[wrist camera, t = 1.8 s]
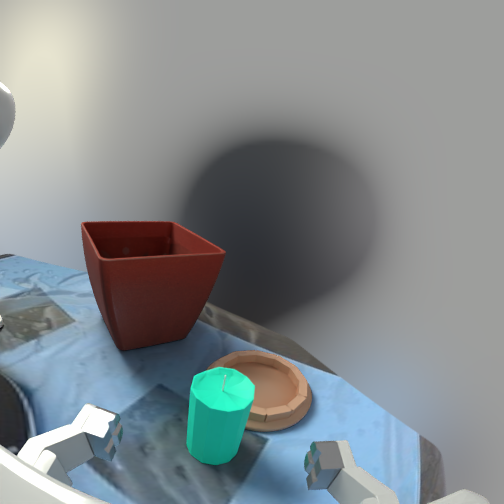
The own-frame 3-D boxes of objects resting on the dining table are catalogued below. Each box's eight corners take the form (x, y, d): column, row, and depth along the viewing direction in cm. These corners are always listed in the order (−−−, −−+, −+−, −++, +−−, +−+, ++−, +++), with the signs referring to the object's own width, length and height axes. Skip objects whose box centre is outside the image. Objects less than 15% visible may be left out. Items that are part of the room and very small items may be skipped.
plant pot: (166, 295, 60) (173, 219, 56) (214, 344, 47) (229, 251, 42) (82, 305, 48) (80, 221, 43) (107, 369, 34) (99, 260, 30)
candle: (233, 426, 30) (250, 355, 27) (242, 463, 25) (266, 398, 22) (184, 425, 29) (190, 353, 26) (188, 465, 23) (193, 398, 20)
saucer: (178, 381, 36) (179, 369, 36) (251, 345, 49) (253, 335, 48) (266, 452, 27) (271, 442, 26) (328, 391, 39) (333, 381, 39)
